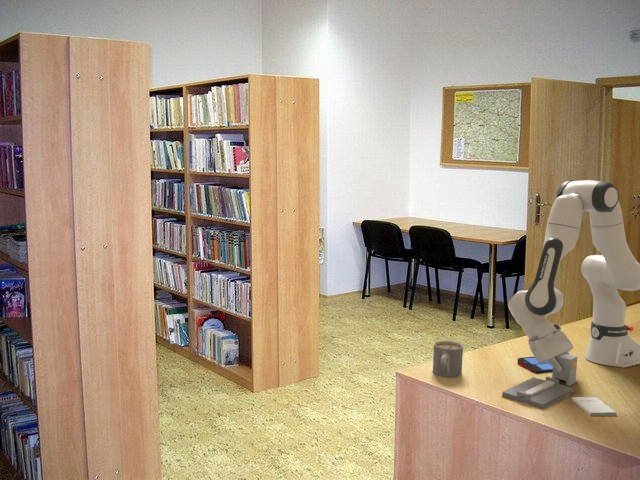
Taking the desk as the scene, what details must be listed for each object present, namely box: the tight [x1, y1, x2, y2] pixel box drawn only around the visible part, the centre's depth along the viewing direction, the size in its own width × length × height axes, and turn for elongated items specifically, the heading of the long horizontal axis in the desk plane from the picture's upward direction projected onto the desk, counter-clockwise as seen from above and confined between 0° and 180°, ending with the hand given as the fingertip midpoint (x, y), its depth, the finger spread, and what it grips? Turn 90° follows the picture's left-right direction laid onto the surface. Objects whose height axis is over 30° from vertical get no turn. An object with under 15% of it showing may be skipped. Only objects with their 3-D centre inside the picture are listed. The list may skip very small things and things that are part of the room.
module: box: [551, 353, 578, 387], centre depth 229 cm, size 5×6×9 cm
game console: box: [516, 356, 553, 375], centre depth 245 cm, size 14×13×2 cm
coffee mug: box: [432, 340, 464, 378], centre depth 235 cm, size 13×10×10 cm
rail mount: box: [501, 376, 574, 410], centre depth 218 cm, size 20×14×3 cm
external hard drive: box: [571, 396, 618, 417], centre depth 208 cm, size 2×8×12 cm
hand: (566, 368), depth 229 cm, fingers open, 6 cm apart
